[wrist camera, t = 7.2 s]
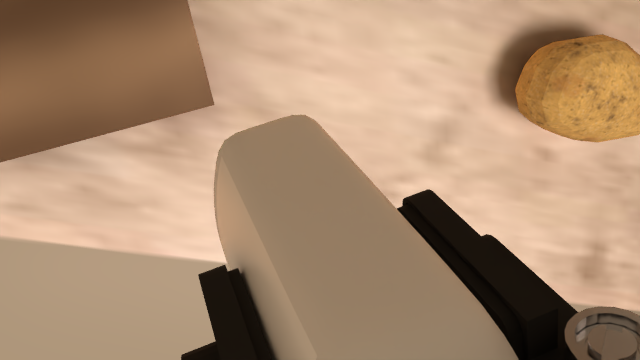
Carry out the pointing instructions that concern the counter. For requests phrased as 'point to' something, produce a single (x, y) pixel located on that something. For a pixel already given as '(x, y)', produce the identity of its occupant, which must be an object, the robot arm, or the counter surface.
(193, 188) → the counter surface
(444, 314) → the grey tapered bottle shape
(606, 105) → the potato
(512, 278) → the robot arm
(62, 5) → the walnut block
